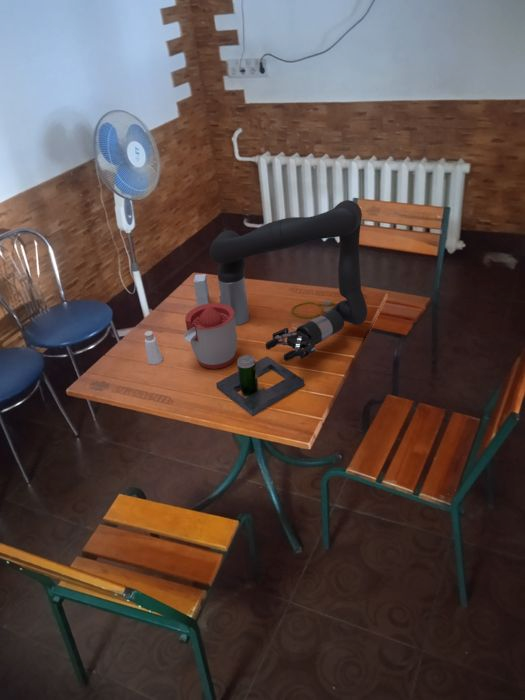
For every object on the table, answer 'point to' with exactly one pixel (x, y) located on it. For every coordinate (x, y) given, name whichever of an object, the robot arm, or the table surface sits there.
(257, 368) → the keyhole plate
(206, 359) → the citrus juicer
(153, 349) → the pepper shaker
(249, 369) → the green drink can
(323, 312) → the extension cord
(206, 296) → the skincare box
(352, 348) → the table surface
